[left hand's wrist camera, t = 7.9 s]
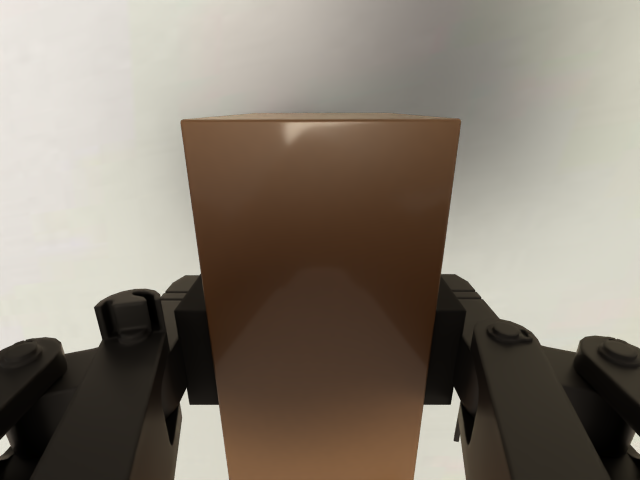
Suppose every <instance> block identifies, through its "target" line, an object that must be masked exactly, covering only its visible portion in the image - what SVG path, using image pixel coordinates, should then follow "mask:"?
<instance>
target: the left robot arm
mask: <svg viewBox="0 0 640 480" xmlns="http://www.w3.org/2000/svg"><path fill="white" fill-rule="evenodd" d="M94 309H95V313H96V317H97V321H98V325H99V328H100V332H101V336H102V341H101V343H100V345H99V347H97V348H93V349H88V350H83V351H78V352H73V353H68V354H64V351H63V347H62V344H61V342H60V341H58V340H57V339H56V338H48V337H43V338H32V339H27V340H26V341H24V340H23V341H20V342H17V343H15V344H14V345H12V346H9V347H7V348H5V349H3V350H1V351H0V439H1V438H2V437H3V436H4V435H5V434H6V436H7V438H8V440H9V443H10V445H11V446H10V447H9V449H8V450H7V451H6V452H5V453H4V454H3V455H1V456H0V480H174V476H175V468H176V460H177V453H178V445H179V437H180V430H181V422H182V413H181V407H180V400H181V398H182V396H183V394H184V392H185V390H186V388H187V392H188V398H189V404H190V405H219V401H218V393H217V386H216V379H215V371H214V364H213V357H212V349H211V342H210V335H209V327H208V320H207V313H206V306H205V298H204V291H203V284H202V276H201V274H200V275H185V276H184V277H182V278H180V279H179V280H177V281H175V282H173V283H172V284H171V286H170V287H169V288H168V289H167V290H166V291H165V293H164V294H163V295H162V296H161V297H160V294H159V293H158V292H156V291H155V290H150V289H133V290H127V291H122V292H119V293H116V294H114V295H111V296H109V297H107V298H105V299H103V300H101V301H100V302H99V303H98V304H97V305H96V306H95V307H94ZM453 388H455V390H456V392H457V394H458V396H459V398H460V400H461V402H460V407H459V413H458V418H457V424H456V429H455V435H454V441H456V442H459V437H461V444H462V452H463V460H464V467H465V475H466V480H640V454H639V453H638V452H636V450H635V449H634V448H633V447H632V446H631V445H630V444H631V441H632V439H633V437H634V434H635V432H636V433H637V434H638V435H639V436H640V349H639V348H638V347H636V346H633V345H631V344H628V343H627V342H625V341H623V340H620V339H615V338H612V337H603V336H588V337H584V338H583V339H582V340H580V342H579V346H578V349H577V352H571V351H565V350H560V349H555V348H550V347H545V346H541V345H540V343H539V341H538V339H537V338H536V337H535V336H534V334H533V333H532V332H531V331H529V330H527V329H526V328H524V327H523V326H521V325H518V324H516V323H513V322H511V321H507V320H502V319H499V318H498V316H497V315H496V314H495V313H494V312H493V311H492V309H491V308H490V307H489V306H488V305H487V304H486V302H485V301H484V300H483V299H481V297H480V295H479V294H478V293H477V292H475V290H474V288H473V287H472V286H471V285H470V284H469V283H468V282H467V281H466V280H464V279H462V278H461V277H459V276H457V275H455V274H441V277H440V284H439V292H438V299H437V307H436V314H435V322H434V329H433V337H432V344H431V352H430V359H429V367H428V374H427V382H426V389H425V397H424V404H423V405H451V400H452V394H453Z"/></svg>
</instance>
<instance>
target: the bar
mask: <svg viewBox="0 0 640 480" xmlns="http://www.w3.org/2000/svg"><path fill="white" fill-rule="evenodd" d="M460 126H461V120H460V119H456V118H444V117H431V116H419V115H407V114H394V113H253V114H241V115H229V116H217V117H205V118H194V119H183V120H181V130H182V137H183V144H184V152H185V159H186V166H187V174H188V181H189V188H190V196H191V203H192V210H193V218H194V225H195V232H196V240H197V247H198V254H199V262H200V269H201V276H202V284H203V291H204V298H205V306H206V313H207V320H208V327H209V335H210V342H211V349H212V357H213V364H214V371H215V379H216V386H217V393H218V401H219V408H220V415H221V423H222V430H223V437H224V445H225V452H226V459H227V467H228V474H229V480H414V472H415V464H416V457H417V449H418V442H419V434H420V427H421V419H422V412H423V404H424V397H425V389H426V382H427V374H428V367H429V359H430V352H431V344H432V337H433V329H434V322H435V314H436V307H437V299H438V292H439V284H440V277H441V269H442V262H443V254H444V246H445V239H446V231H447V224H448V216H449V209H450V201H451V194H452V186H453V179H454V171H455V164H456V156H457V149H458V141H459V134H460Z"/></svg>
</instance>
